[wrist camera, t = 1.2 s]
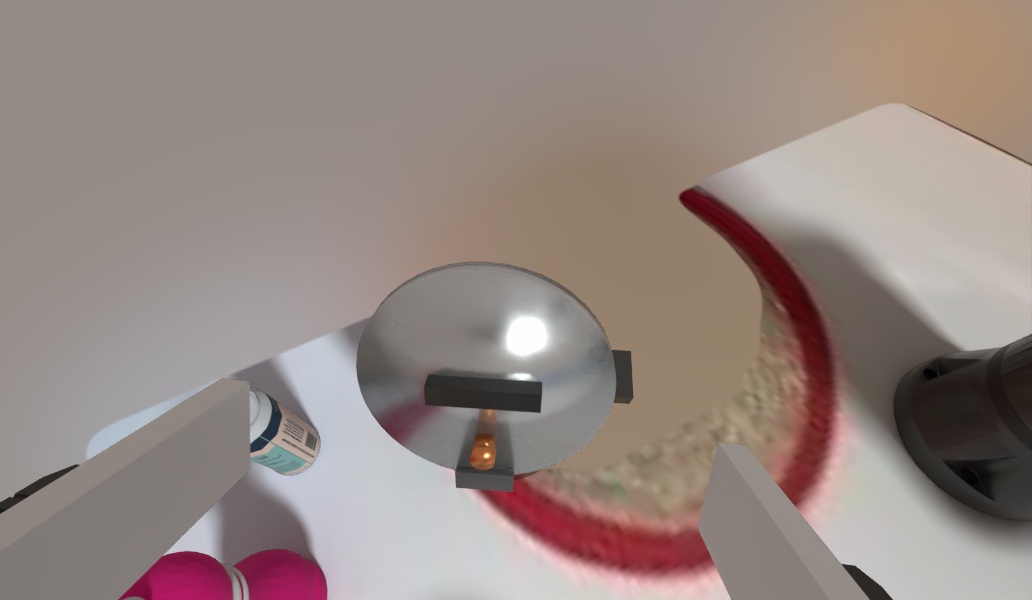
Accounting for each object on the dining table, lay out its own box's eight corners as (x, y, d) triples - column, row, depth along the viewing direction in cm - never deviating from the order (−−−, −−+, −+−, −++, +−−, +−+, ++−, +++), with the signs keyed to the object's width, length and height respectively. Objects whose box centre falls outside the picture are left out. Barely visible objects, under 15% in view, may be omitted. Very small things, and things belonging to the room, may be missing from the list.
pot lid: (632, 269, 27) (640, 294, 24) (596, 478, 35) (600, 512, 33) (345, 253, 27) (325, 276, 25) (379, 462, 36) (366, 494, 33)
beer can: (300, 415, 48) (239, 370, 37) (333, 445, 46) (278, 407, 36) (260, 455, 46) (184, 419, 35) (293, 487, 44) (224, 460, 34)
